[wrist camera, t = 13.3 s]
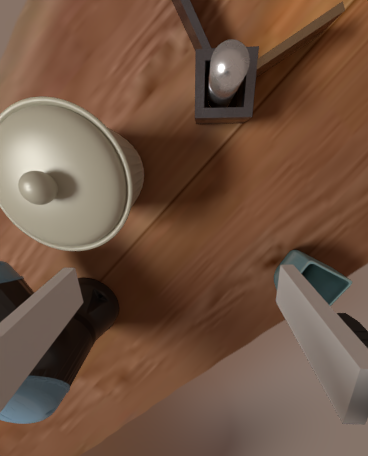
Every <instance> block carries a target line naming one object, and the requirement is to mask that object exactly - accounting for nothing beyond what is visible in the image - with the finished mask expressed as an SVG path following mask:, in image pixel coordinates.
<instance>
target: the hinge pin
mask: <svg viewBox="0 0 368 456" xmlns="http://www.w3.org/2000/svg"><path fill="white" fill-rule="evenodd" d="M249 63H250V58H249V53H248V50H247V48H246V47H245V45H244V44H243V43H241V42H240V41H237V40H226V41H224V42H222V43H221V44H220V45H218V47H217V48H216V49H215V51H214V52H213V55H212V57H211V63H210V74H209V85H208V96H207V100H208V103H209V105H210V107H211V108H226V107H228V105H229V104H230V102H231V100H232V98H233V97H234V95H235V93H236V91H237V90H238V88H239V86H240V84H241V82H242V81H243V79H244V77H245V75H246V73H247V71H248V68H249Z"/></svg>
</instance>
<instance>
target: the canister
mask: <svg viewBox="0 0 368 456" xmlns="http://www.w3.org/2000/svg"><path fill="white" fill-rule="evenodd" d="M143 182H144V168H143V163H142V161H141V158H140V156H139V155H138V153H137V151H136V150H135V148H134V147H133V145H131V144H130V143H129V141H128V140H126V139H125V138H123V137H122V136H121V135H119V134H118V133H116V132H114V131H113V130H111V129H109V128H107V127H106V126H105V125H104V124H103V123H102V122H101V121H100V120H99V119H98V118H96V117H95V116H94V115H93V114H91V113H90V112H88V111H87V110H85V109H84V108H82V107H80V106H78V105H76V104H74V103H71V102H69V101H66V100H62V99H58V98H53V97H32V98H27V99H24V100H21V101H18V102H16V103H14V104H12V105H11V106H9V107H8V108H7V109H5V110H4V111H3V112H2V113H1V114H0V207H1V209H2V210H3V211H4V213H5V214H6V215H7V217H8V218H9V219H10V220H11V221H12V222H13V223H14V224H15V225H16V226H17V227H18V228H19V229H20V230H21V231H23V232H24V233H25V234H27V235H28V236H30V237H31V238H33V239H34V240H36V241H38V242H40V243H42V244H44V245H47V246H49V247H52V248H56V249H60V250H66V251H84V250H89V249H93V248H96V247H99V246H101V245H103V244H105V243H106V242H108V241H109V240H111V239H112V238H113V237H114V236H115V235H116V234H117V233H118V232H119V231H120V230H121V228H122V227H123V225H124V224H125V222H126V220H127V218H128V215H129V213H130V209H131V207H132V205H133V204H134V202H135V201H136V199H137V198H138V196H139V194H140V192H141V189H142V188H143Z"/></svg>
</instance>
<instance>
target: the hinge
mask: <svg viewBox="0 0 368 456" xmlns="http://www.w3.org/2000/svg"><path fill="white" fill-rule="evenodd" d="M172 2H173V4H174V6H175V8H176V10H177V13H178V15H179V17H180V19H181V21H182V23H183V25H184V28H185V30H186V32H187V34H188V36H189V38H190V40H191V42H192V45H193V47H194V49H195V51H196V69H195V121H196V124H233V123H244V122H246V121H247V120H249V119H250V118H252V113H253V102H254V92H255V81H256V77H258V76H259V75H261V74H262V73H264V72H265V71H267V70H268V69H270V68H271V67H273V66H274V65H276V64H277V63H279V62H280V61H282V60H283V59H285V58H286V57H288V56H289V55H291V54H292V53H294V52H295V51H297V50H298V49H300V48H301V47H303V46H305V45H306V44H308V43H309V42H311V41H312V40H314V39H315V38H317V37H318V36H319V35H321V34H322V33H323V32H324V31H325V30H326V29H327V28H328V27H329V26H330V25H331V24H332V23H333V22H334V21H335V20H336V19H337V18H338V17H339V16H340V15H341V14H342V13H343V12H344V11H345V8H344V5H343V1H342V2H341V3H339V4H338V5H336V6H335V7H333V8H332V9H331V10H329V11H328V12H326V13H325V14H323V15H322V16H320V17H319V18H317V19H316V20H314V21H313V22H311V23H310V24H308V25H307V26H306V27H304V28H303V29H301V30H300V31H298V32H297V33H295V34H294V35H292V36H291V37H289V38H288V39H286V40H285V41H284V42H282V43H281V44H279V45H278V46H276V47H275V48H273V49H272V50H270V51H269V52H267V53H266V54H264V55H263V56H261V57H260V58H259V59H258V50H259V46H257V47H246V48H247V50H248V53H249V58H250V63H249V68H248V71H247V73H246V75H245V77H244V79H243V81H242V82H241V84H240V86H239V88H238V95H237V107H228V108H204V86H205V78H209V74H210V63H211V57H212V55H213V52H214V51H215V49H216V48H211V46H210V44H209V42H208V40H207V37H206V35H205V33H204V31H203V29H202V26H201V24H200V22H199V20H198V17H197V15H196V13H195V11H194V8H193V6H192V4H191V2H190V0H172Z"/></svg>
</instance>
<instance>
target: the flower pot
mask: <svg viewBox="0 0 368 456" xmlns="http://www.w3.org/2000/svg"><path fill="white" fill-rule="evenodd" d="M280 265H294V266H295V267H296V268H297V270H298V271H299V272H300V273H301V274H302V275H303V276H304V277H305V279H306V280H307V281H308V282H309V283H310V284H311V285H312V286H313V288H314V289H315V290H316V291H317V292H318V293H319V294H320V295H321V297H322V298H323V299H324V300H325V301H326V302H327V303H328V304H329V306H331V305H332V304H333V303H334V302H335V301H336V300H337V299H338V298H339V297H340V295H342V294H343V293H344V292H345V291H346V290H347V289H348V288H349V287H350V285H351V284H352V281H351V280H350V279H348V278H347V277H345V276H344V275H342V274H341V273H339V272H338V271H336V270H335V269H333V268H332V267H330V266H328V265H326V264H324V263H322V262H320V261H318V260H316V259H314V258H312V257H310V256H308V255H306V254H304V253H303V252H301V251H298V250H292V251H290V252H289V253H288V254H287V256H286V257H285V258H284V260H283V261H282V262H281V263H280ZM280 265H279V266H278V267H277V269H276V271H275V274H274V283H275V286H276V290H277V288H278V280H279V271H280Z"/></svg>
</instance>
